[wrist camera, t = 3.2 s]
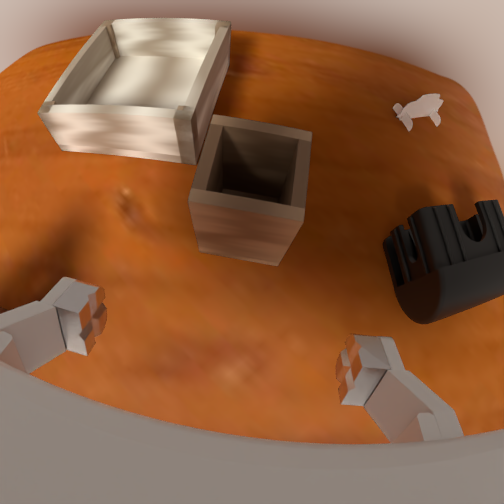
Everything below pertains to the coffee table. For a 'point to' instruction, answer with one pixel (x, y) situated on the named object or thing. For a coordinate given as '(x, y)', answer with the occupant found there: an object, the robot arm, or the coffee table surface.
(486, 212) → the end cap
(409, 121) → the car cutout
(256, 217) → the small crate
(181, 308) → the coffee table surface
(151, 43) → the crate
